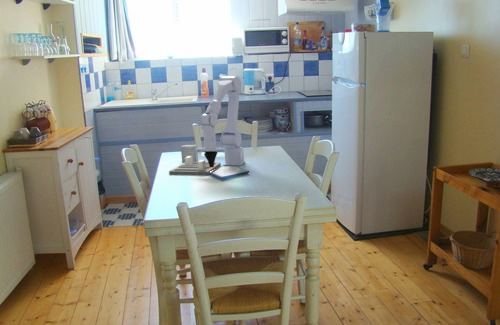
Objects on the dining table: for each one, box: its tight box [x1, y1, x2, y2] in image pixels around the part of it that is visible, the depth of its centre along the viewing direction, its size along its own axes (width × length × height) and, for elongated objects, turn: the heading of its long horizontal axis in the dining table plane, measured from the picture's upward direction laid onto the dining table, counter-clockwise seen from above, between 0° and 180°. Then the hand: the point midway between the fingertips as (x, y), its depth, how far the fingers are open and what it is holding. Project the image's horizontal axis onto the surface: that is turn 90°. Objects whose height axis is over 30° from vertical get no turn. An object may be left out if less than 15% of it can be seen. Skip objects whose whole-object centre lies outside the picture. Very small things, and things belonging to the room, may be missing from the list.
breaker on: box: [185, 156, 193, 164], centre depth 231 cm, size 2×4×4 cm, turn 164°
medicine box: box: [180, 144, 199, 163], centre depth 244 cm, size 8×4×9 cm, turn 84°
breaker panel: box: [168, 161, 222, 176], centre depth 226 cm, size 20×18×2 cm
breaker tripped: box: [197, 159, 206, 169], centre depth 220 cm, size 2×4×4 cm, turn 165°
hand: (211, 166), depth 219 cm, fingers closed
